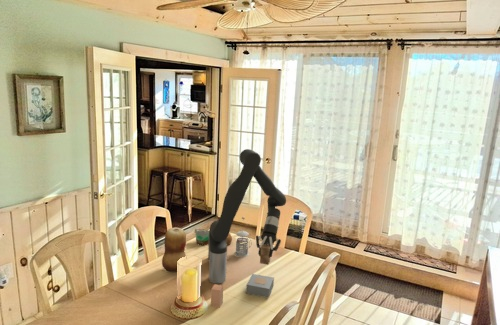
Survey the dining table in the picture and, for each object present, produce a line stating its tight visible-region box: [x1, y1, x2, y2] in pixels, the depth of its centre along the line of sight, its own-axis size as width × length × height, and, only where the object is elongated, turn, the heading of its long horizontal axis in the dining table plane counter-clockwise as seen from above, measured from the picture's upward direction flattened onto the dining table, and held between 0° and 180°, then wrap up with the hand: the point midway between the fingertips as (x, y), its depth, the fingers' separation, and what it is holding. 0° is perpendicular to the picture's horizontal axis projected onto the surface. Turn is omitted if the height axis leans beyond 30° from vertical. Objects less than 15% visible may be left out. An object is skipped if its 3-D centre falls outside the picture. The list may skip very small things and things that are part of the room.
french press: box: [233, 216, 252, 258], centre depth 226 cm, size 10×12×25 cm
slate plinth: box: [245, 273, 275, 298], centre depth 188 cm, size 12×12×5 cm
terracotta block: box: [210, 283, 224, 308], centre depth 173 cm, size 4×4×9 cm
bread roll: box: [226, 232, 233, 245], centre depth 246 cm, size 10×15×8 cm, turn 35°
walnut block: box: [259, 244, 271, 266], centre depth 185 cm, size 4×4×9 cm
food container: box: [193, 227, 209, 246], centre depth 240 cm, size 12×6×10 cm, turn 81°
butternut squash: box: [161, 227, 187, 273], centre depth 202 cm, size 14×13×25 cm
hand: (264, 256), depth 184 cm, fingers closed on walnut block, 4 cm apart
